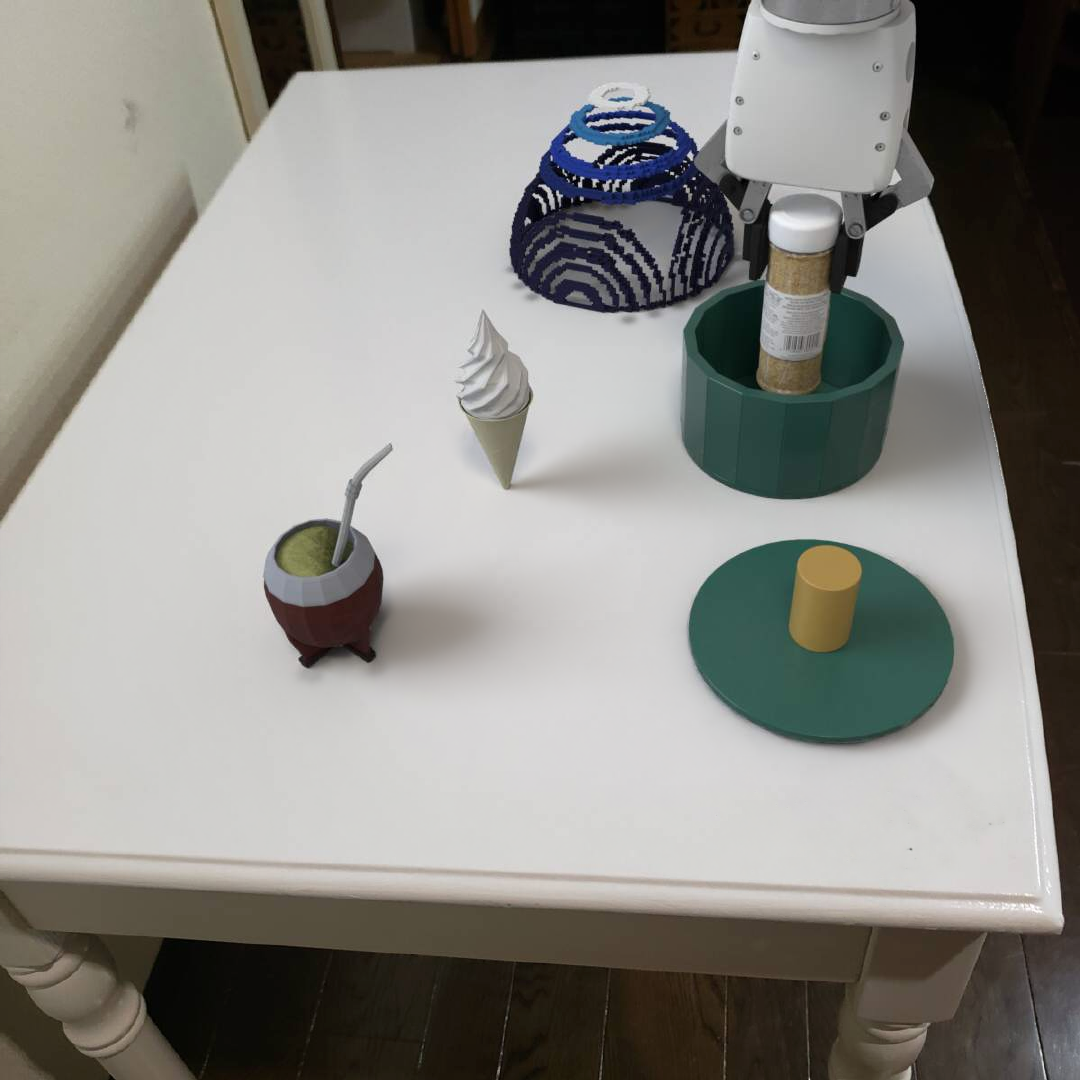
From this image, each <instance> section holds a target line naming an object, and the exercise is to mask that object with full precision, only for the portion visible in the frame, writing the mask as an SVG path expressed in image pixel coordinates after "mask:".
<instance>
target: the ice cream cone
mask: <svg viewBox="0 0 1080 1080" xmlns="http://www.w3.org/2000/svg"><path fill="white" fill-rule="evenodd" d="M469 343H470V344H469V346H468V347H467V348H466V351H467V352H468V353H469V354H470V355H471V356H472V357H471V358H468V359H466V360H465V361H463V362H460V363H459V364H458V365H457V368H458V369H462V370H464V372H463V374H462V375H460V376H456V377H454V378H453V382H455V383H456V384H460V385H462V386H463V388H462V390H461V391H459V392H457V393H455V398H456V399H457V404H458V407H459V409H460V410H461V412H462V413H463V414H464V415H465V416H466V418H467V421H468V422H469V425H470V427H471V429H472V431H473V433H474V434H475V436H476V438H477V441H478V442H479V445H481V448H482V450H483V452H484V454H485V456H486V458H487V460H488V462H489V464H490V465H491V467H492V469H493V471H494V473H495V475H496V478H497V479H498V481H499V483H500V484H501V487H502V488H503V489H504V490H508V489H510V488H511V484H512V479H513V474H514V470H515V466H516V463H517V459H518V455H519V451H520V447H521V442H522V438H523V435H524V431H525V425H526V422H527V417H528V413H529V409H530V406H531V405H532V403H533V400H534V391H533V388H532V387H531V386H530V383H529V370H528V368H527V367H526V365H525V364H524V362H523V361H522V359H521V358H520V356H519V355H517V354H516V353H514V352H512V351H510V350H509V342H508V341H507V340H506V339H505V338H504V337H503V336H502V335H501V333H499V332H498V331H497V329H496V327H495V326H494V324H493V323H492V321H491V320H490V317H489V316H488V314H487V312H486V311H485V309H481V313H480V316H479V319H478V322H477V324H476V328H475V330H474V333H473V335H472V337H471V339H470V341H469Z"/></svg>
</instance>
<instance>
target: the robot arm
mask: <svg viewBox="0 0 1080 1080" xmlns="http://www.w3.org/2000/svg"><path fill="white" fill-rule="evenodd" d="M915 7H916V6H915V5H914V3H913V2H912V1H911V0H750V4H749V5H748V8H747V12H746V16H745V18H744V23H743V27H742V31H741V35H740V41H739V45H738V50H737V54H736V61H735V65H734V73H733V78H732V86H731V93H730V99H729V106H728V113H727V119H726V120H724V122H723V123H722V124H721V125H720V126H719V127H718V128H717V130H716V131H715V132H714V133H713V134H712V136H711V137H710V138H709V139H708V140H707V141H706V142H705V144H704V145H703V146H701V148H700V149H699V150H698V151H699V153H698V154H697V156H696V157H695V159H694V164H695V166H696V167H697V168H698V169H699V170H700V171H701V172H702V173H703V174H704V175H706V176H707V177H708V178H709V179H710V180H711V181H712V182H714V183H717V184H718V185H719V188H720V190H721V192H722V193H723V194H724V197H725V199H726V200H727V201H729V202H730V203H731V205H732V206H733V207H734V208H735V209H736V211H737V212H738V214H737V216H738V218H739V221H741V222H742V223H743V226H744V227H743V239H742V240H743V241H742V253H741V260H742V261H747V262H749V264H748V265H749V266H748V280H749V281H757V280H762V277H763V275H764V273H765V272H766V271H765V270H767V266H768V254H769V238H768V234H767V231H768V220H769V212H770V209H771V207H772V205H773V204H774V203H771V200H770V199H769V196H770V193H771V191H772V187H773V185H781V186H788V187H796V188H803V189H810V190H811V189H812V190H818V191H819V190H820V191H828V192H834V193H835V192H836V193H840V200H841V207H842V211H843V221H842V228H841V229H840V231H839V234H838V236H837V239H836V243H835V250H834V258H833V265H832V273H831V280H830V288H829V290H830V291H832V293H835V294H840V293H841V291H842V288H843V287H844V286H845V284H846V281H847V278H848V277H851V278H857V276H858V273H859V270H860V266H861V261H862V254H863V248H864V243H865V235H866V233H867V232H868V231H870V230H871V229H873V228H874V227H876V226H877V225H878V224H880V223H882V222H883V221H884V220H887V218H889V217H891V216H892V215H894V214H895V213H896V212H897V211H898V210H900V209H902V208H906V207H909V206H910V205H912V204H914V203H916V202H918V201H920V200H923V199H924V198H925V199H926V198H927V197H928V196H929V195H930V194H931V192H932V189H933V186H934V183H935V178H934V175H933V174H932V172H931V170H930V169H929V167H928V165H927V164H926V162H925V160H924V158H923V156H922V155H921V153H920V151H919V150H918V148H917V146H916V144H915V143H914V141H913V139H912V137H911V135H910V133H909V132H908V126H909V119H910V111H911V103H912V95H913V87H914V86H913V85H914V84H913V83H914V75H915V64H916V63H915V62H916V45H917V44H916V42H917V41H916V40H917V38H916V36H917V25H916V24H917V23H916V22H917V21H916V8H915ZM894 171H896V172H897V174H898V176H899V177H900V180H899V181H896V183H894V184H890V183H891V182H892V178H893V174H894Z"/></svg>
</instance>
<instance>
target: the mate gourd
mask: <svg viewBox="0 0 1080 1080" xmlns="http://www.w3.org/2000/svg"><path fill="white" fill-rule="evenodd" d="M393 450H394V448H393V444H392V443H391V442H389V443H388V444H387V445H385V446H384V447H383V448H382V449H380V450H379V451H378V452H376V453H375V454H374V455H373V456H372V457H371V458H369V459H368V460H367V461H365V462H364V463H363V464H362V465H361V466H360V468H359V469H358V470H357V471H356V473H354V475H353V477H352V478H350V479H349V480H348V482H347V486H346V488H345V492H344V496H345V502H344V507H343V512H342V516H341V520H339V519H332V518H328V517H327V518H326V517H325V518H316V519H315V518H314V519H308V520H307V521H303V522H300V523H297V524H295V525H293V526H291V527H290V528H288V529H286V531H284V532H283V533H281V534H280V535H279V536H278V538H277V539H276V541H275V542H274V544H273V545H272V546H271V548H270V549H269V551H268V552H267V555H266V558H265V562H264V568H263V573H262V574H263V575H262V577H263V590H264V595H265V598H266V600H267V602H268V605H269V607H270V610H271V612H272V614H273V616H274V617H275V621H276V622H277V623H278V625H279V626H280V628H282V630H283V632H284V634H285V636H286V638H287V640H288V641H289V643H290V644H291V645H292V646H293V647H294V648H295V649H296V650H297V651H298V652H299V654H300V656H299V657H298V658H297V660H298V661H299V663H300V665H301V666H303V667H304V668H307V669H309V668H311V667H312V666H313V665H315V664H316V663H317V662H318V661H320V660H321V659H323V657H324V656H326V655H327V654H328V653H330V652H331V651H332V650H333V649H335V648H336V647H337V648H338V647H342V646H343V647H344V648H345V649H347V650H348V651H350V652H351V653H353V655H355V656H357V657H358V658H359V659H361V660H362V661H364V662H365V663H368V664H369V663H372V661H374V660H375V659H376V658H377V651H376V650H375V649H374V648H372V647H371V627H372V626H373V624H374V622H375V620H376V618H377V616H378V614H379V613H380V609H381V606H382V602H383V593H384V592H383V591H384V580H385V579H384V570H383V569H384V568H383V566H382V563H381V560H380V559H379V557H378V556H377V555H378V554H377V553H376V550H375V549H374V547H373V546H372V544H371V542H370V539H369V538H368V536H367V535H365V534H364V533H363V532H361V531H360V530H358V529H356V528H355V527H354V526H352V525H351V524H352V520H353V515H354V510H355V505H356V500H358V498H359V497H360V492H361V490H362V488H363V481H364V479H366V477H367V476H368V474H370V472H371V471H373V469H374V468H376V466H378V465H379V464H380V463H381V461H383V460H384V459H385V458H386V457H387V456H388V455H390V453H391V452H392V451H393Z"/></svg>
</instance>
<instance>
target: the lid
mask: <svg viewBox="0 0 1080 1080" xmlns="http://www.w3.org/2000/svg"><path fill="white" fill-rule="evenodd" d="M688 642H689V647H690V648H689V649H690V652H691V656H692V658H693V661H694V663H695V667H696V668H697V670H698V672H699V674H700V676H701V677H702V679H703V680H704V682H705V683H706V685H707V686H708V687H709V688H710V690H711V691H712V692H713V693H714V694H715V696H717V697H718V698H719V699H720V700H721V701H722V702H723V703H724V704H725V705H727V706H728V707H729V708H730V709H732V711H734V712H736V713H737V715H740V716H741V717H743V718H745V719H746V720H748V721H749V722H751V723H753V724H755V725H757V726H759V727H762V728H764V729H766V730H768V731H771V732H774V733H777V734H779V735H782V736H785V737H788V738H793V739H796V740H802V741H807V742H813V743H815V742H816V743H822V744H847V743H849V744H850V743H859V742H865V741H869V740H875V739H879V738H881V737H882V738H883V737H884V736H888V735H891V734H893V733H896V732H897V731H900V730H902V729H904V728H906V727H908V726H910V725H911V724H913V723H914V722H915V721H918V720H919V719H920V718H922V717H923V716H924V715H925V714H926V713H927V712H928V711H929V710H930V709H931V708H933V706H934V705H935V704H936V703H937V701H938V699H939V698H940V697H941V696H942V694H943V692H944V690H945V688H946V687H947V685H948V683H949V679H950V676H951V673H952V670H953V666H954V660H955V641H954V636H953V632H952V628H951V624H950V622H949V619H948V616H947V615H946V613H945V611H944V609H943V607H942V606H941V604H940V602H939V601H938V599H937V598H936V597H935V596H934V594H933V593H932V592H931V590H930V589H929V588H928V587H927V586H926V585H925V584H924V583H922V582H921V580H920V579H918V578H917V577H916V576H915V575H914V574H912V573H911V572H909V571H908V570H907V569H905V568H904V567H902V566H901V565H899V564H897V563H896V562H894V561H892V560H891V559H888V558H887V557H885V556H883V555H881V554H878V553H876V552H874V551H871V550H868V549H866V548H863V547H860V546H855V545H853V544H849V543H845V542H839V541H833V540H825V539H816V538H815V539H814V538H810V539H809V538H807V539H806V538H805V539H804V538H803V539H802V538H799V539H786V540H780V541H779V540H778V541H774V542H769V543H765V544H761V545H759V546H754V547H752V548H749V549H747V550H745V551H742V552H740V553H738V554H737V555H735V556H733V557H731V558H730V559H727V560H726V561H725V562H723V563H722V564H721V565H720V566H718V567H717V568H715V570H714V571H713V572H712V573H711V574H709V576H708V577H706V579H705V581H704V582H703V583H702V585H701V586H700V588H699V589H698V591H697V593H696V595H695V597H694V599H693V602H692V605H691V608H690V612H689V620H688Z"/></svg>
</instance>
